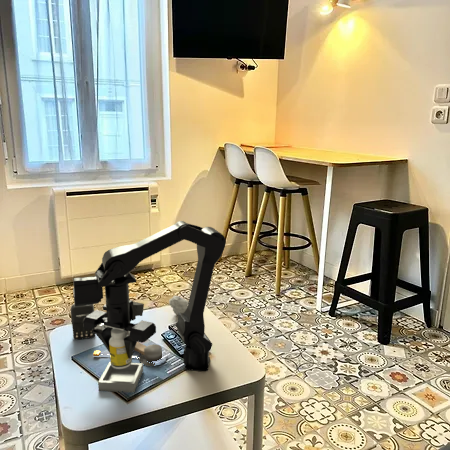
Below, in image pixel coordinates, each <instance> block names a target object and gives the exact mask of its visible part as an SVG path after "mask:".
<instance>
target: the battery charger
mask: <svg viewBox="0 0 450 450" xmlns="http://www.w3.org/2000/svg"><path fill="white" fill-rule="evenodd" d="M94 311H95V304H91V305H85V306H78V307H75V304H74V303H73V304H72V305H71V306H70V320H71V328H72V338H73V339H74V340H76V341H77V340H86V339H92V338H95V336H96V334H95V333H93V330H94V329H95V328H94V329H93V330H89V329H85V328H84V326H83V320H84V318H85V317H86V316H88V315H89V314H91V313H92V312H94Z"/></svg>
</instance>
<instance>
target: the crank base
mask: <svg viewBox="0 0 450 450" xmlns="http://www.w3.org/2000/svg"><path fill="white" fill-rule="evenodd" d="M100 354H101V350H94V351H93V354H92V355H93V356H99V355H100ZM101 355H102V354H101ZM137 356H138V355H132V358H135V357H136V358H137ZM139 356H140V357H138V358H139V359H138V358H137V359H136V360H138V361H139V363H140V362H141V363H143V364H144V365H143V366H145V365H146V366H145V367H150V366H153V367H155V366H154V365H155V363H154V364H153V362H152V361H148V362H147V360H146V359H145V358H144V355H143V354H140V355H139ZM149 362H150V363H149ZM151 362H152V363H151Z"/></svg>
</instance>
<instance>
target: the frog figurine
mask: <svg viewBox="0 0 450 450" xmlns="http://www.w3.org/2000/svg"><path fill="white" fill-rule="evenodd" d="M168 302H169V306H170V307H171V308H172V311H173V313H174V314H175V315H176V316H178V313H179V312H180V313H184V312H185V310H186V309H187V307H188V303H189V300H187V299H186V298H183V297H181V296H179V295H173V296H172V298H170V299H168Z"/></svg>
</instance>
